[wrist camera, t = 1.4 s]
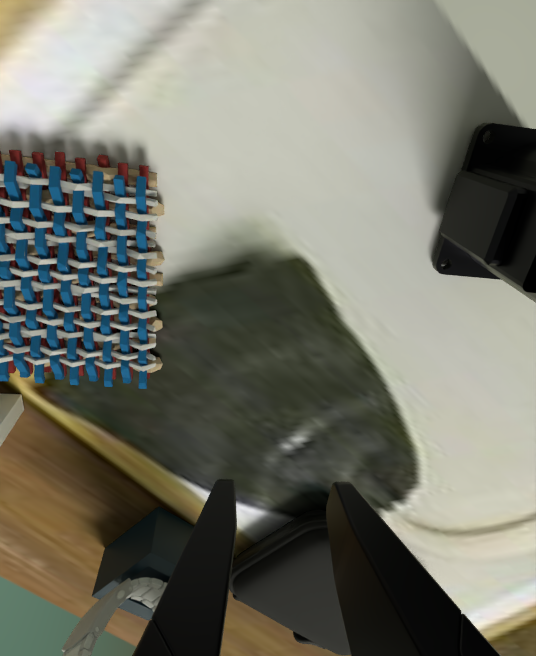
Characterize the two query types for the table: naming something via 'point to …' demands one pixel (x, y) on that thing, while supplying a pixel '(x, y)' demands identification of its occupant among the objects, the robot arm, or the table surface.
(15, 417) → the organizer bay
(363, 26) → the table surface
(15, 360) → the woven mat
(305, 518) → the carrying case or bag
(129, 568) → the watch
